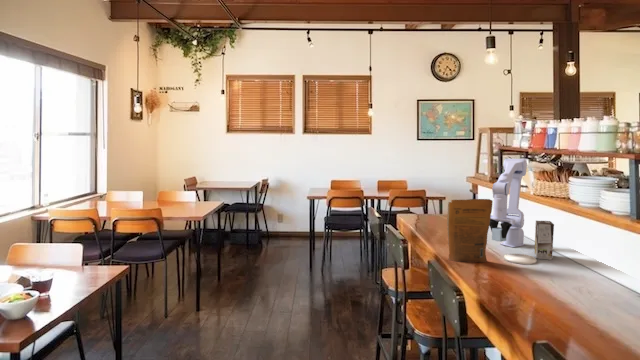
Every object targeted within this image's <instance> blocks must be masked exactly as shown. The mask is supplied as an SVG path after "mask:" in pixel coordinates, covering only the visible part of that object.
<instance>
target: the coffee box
mask: <svg viewBox="0 0 640 360" xmlns="http://www.w3.org/2000/svg"><path fill="white" fill-rule="evenodd" d="M534 227H535V229H534V231H535V232H534V251H533V252H534V256H535V258H536V259H538V260H539V259H540V260H548V261H549V260H550V261H552V260H553V250H554V249H553V247H554V246H553V245H554V231H555V229H554V228H555V224H554V222H552V221H550V220H535V226H534Z"/></svg>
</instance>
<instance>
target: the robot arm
mask: <svg viewBox="0 0 640 360" xmlns="http://www.w3.org/2000/svg"><path fill="white" fill-rule="evenodd" d="M502 166H503V170H504V172H503V173H501V174H500V175H499V177H498V179H497V181H496V182H494V183H493V184H492V198H493V215H492V214H491V217H490V225H489V228H490V230H491V231H490V232H492V228H497V227H499V224H500V228H501V229H502V238H506V241H503V242H500V245H502V246H506V247H510V248H518V247H522V246H526V244H525V243H524V241H525V240H524V239H525V237H524V236H525V232H524V230H523V227H524V224H525V214H524V213H523V211H521V210H520V208H519V205H520V197H521V195H520V194H521V184H522V178H523V177H525V176H526V175H527V168H528V167H527V166H528V163H527V160H526V158H508V157H507V158H505V159H504V160H503V165H502ZM508 195H509V198H508ZM506 236H507V237H506Z"/></svg>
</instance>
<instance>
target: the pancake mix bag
mask: <svg viewBox="0 0 640 360" xmlns="http://www.w3.org/2000/svg"><path fill="white" fill-rule="evenodd" d="M493 204H494V200H492V199H490V198H469V199H451V200H450V201H448V203H447V217H446V218H447V219H446V224H447V228H446V229H447V238H448V240H447V241H448V244H447V245H448V252H449V254H448V260H449V261H451V260H452V261H453V262H456V263H458V262H459V263H462V262H463V263H485V262H487V261H488V260H487V255H486V253H487V251H486V250H487V244H488V232H489V228H490V226H489V225H490V217H491V215H492V209H493Z"/></svg>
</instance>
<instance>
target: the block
mask: <svg viewBox="0 0 640 360" xmlns="http://www.w3.org/2000/svg"><path fill="white" fill-rule="evenodd" d="M506 237H507V236H506ZM491 240H492V241H495V242H500V243H503V242H504V241H506V238H502V229H501V226H500V227H499V226H498V227H497V228H492V231H491Z"/></svg>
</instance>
